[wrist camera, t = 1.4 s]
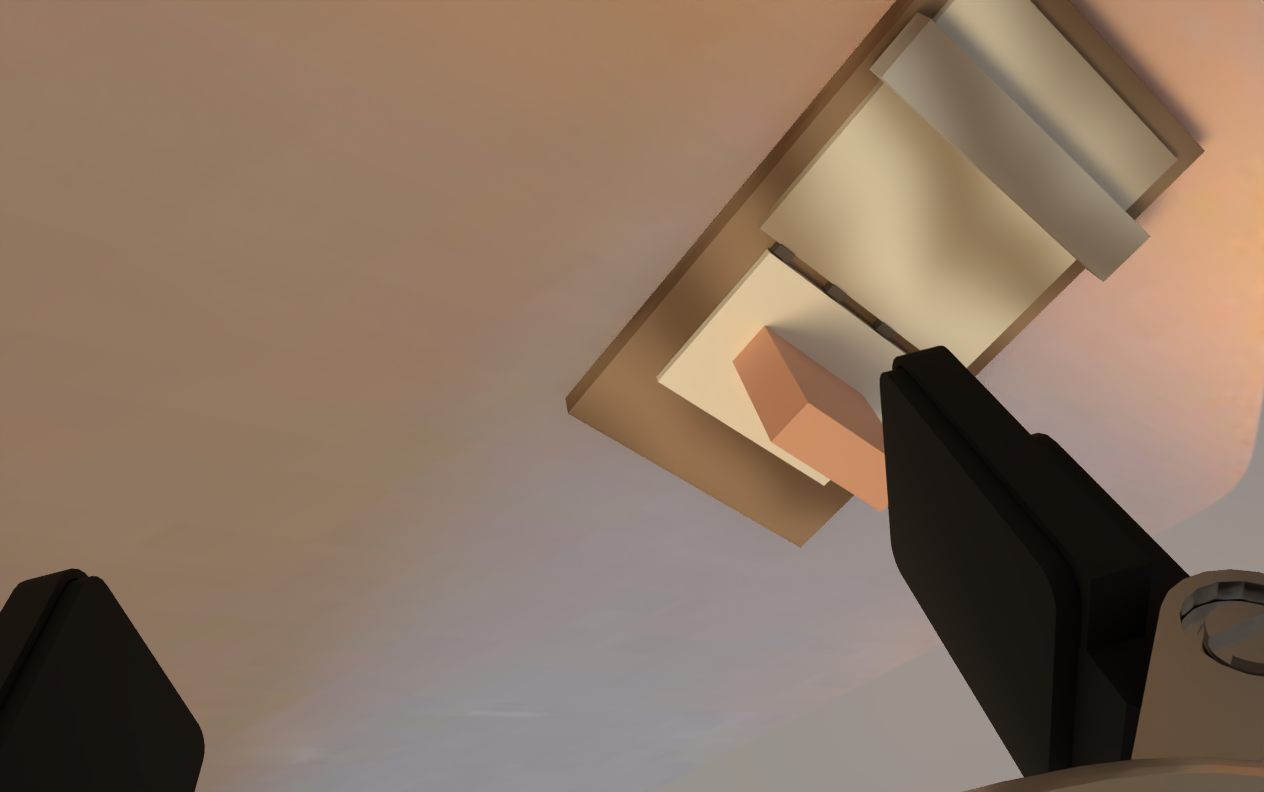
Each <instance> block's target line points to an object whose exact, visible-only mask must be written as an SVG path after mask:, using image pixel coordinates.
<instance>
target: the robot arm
mask: <svg viewBox="0 0 1264 792" xmlns="http://www.w3.org/2000/svg"><path fill="white" fill-rule="evenodd" d="M880 399H881V413H882V426H883V440H884V454H885V468H886V481H887V495H888V509H889V522H890V536H891V546H892V551H893V555H894V558H895V561H896V564H897V566H898V569H899V571H900V573H901V575H902V576H903V578H904V579H905V581H906V583H907V584H908V586H909V588H910V589H911V591H912V593H913V594H914V596H915V598H916V599H917V601H918V603H919V604H920V606H921V608H922V609H923V611H924V613H925V614H926V616H927V618H928V619H929V621H930V622H931V624H932V626H933V627H934V629H935V631H936V632H937V634H938V636H939V637H940V639H941V641H942V642H943V644H944V646H945V647H946V649H947V650H948V652H949V654H950V655H951V657H952V659H953V660H954V662H955V664H956V665H957V667H958V669H959V670H960V672H961V674H962V675H963V677H964V679H965V680H966V682H967V684H968V685H969V687H970V688H971V690H972V692H973V694H974V695H975V697H976V699H977V700H978V702H979V703H980V705H981V707H982V708H983V710H984V712H985V713H986V715H987V717H988V718H989V720H990V722H991V723H992V725H993V727H994V728H995V730H996V732H997V733H998V735H999V737H1000V738H1001V740H1002V741H1003V743H1004V745H1005V747H1006V748H1007V750H1008V751H1009V753H1010V755H1011V756H1012V758H1013V760H1014V761H1015V763H1016V765H1017V766H1018V768H1019V770H1020V771H1021V773H1022V775H1023V776H1024V778H1019V779H1014V780H1010V781H1004V782H1000V783H996V784H992V785H988V786H984V787H980V788H976V789H972V790H968V791H964V792H1264V574H1263V573H1260V572H1251V571H1242V570H1232V569H1230V570H1218V571H1207V572H1203V573H1200V574H1197V575H1194V576H1191V577H1190V576H1189V575H1188V574H1187V573H1186V572H1185V571H1184V570H1183V569H1182V568H1181V567H1180V566H1179V565H1178V564H1177V563H1176V562H1175V561H1174V560H1173V559H1172V558H1171V557H1170V556H1169V555H1168V554H1167V553H1166V552H1165V551H1164V550H1163V549H1162V548H1161V547H1160V546H1159V545H1158V544H1157V543H1156V542H1155V541H1154V540H1153V539H1152V538H1151V537H1150V536H1149V535H1148V534H1147V533H1146V532H1145V531H1144V530H1143V529H1142V528H1141V527H1140V526H1139V525H1138V524H1137V523H1136V522H1135V521H1134V520H1133V519H1132V518H1131V517H1130V516H1129V515H1128V514H1127V513H1126V512H1125V511H1124V510H1123V509H1122V508H1121V507H1120V506H1119V505H1118V504H1117V503H1116V502H1115V501H1114V500H1113V499H1112V498H1111V497H1110V496H1109V495H1108V494H1107V493H1106V492H1105V491H1104V490H1103V489H1102V488H1101V487H1100V485H1099V484H1098V483H1097V482H1096V481H1095V480H1094V479H1093V478H1092V477H1091V476H1090V475H1089V474H1088V473H1087V472H1086V471H1085V470H1084V469H1083V468H1082V467H1081V466H1080V465H1079V464H1078V463H1077V462H1076V461H1075V460H1074V459H1073V458H1072V457H1071V456H1070V455H1069V454H1068V453H1067V452H1066V451H1065V450H1064V449H1063V448H1062V447H1061V446H1060V445H1059V444H1058V443H1057V442H1056V441H1054V440H1053V439H1052V438H1050V437H1049V436H1048V435H1046V434H1041V433H1036V434H1032V435H1030V434H1029V433H1028V431H1027V430H1026V429H1025V428H1024V427H1023V426H1022V425H1021V424H1020V423H1019V422H1018V421H1017V420H1016V419H1015V418H1014V417H1013V416H1012V415H1011V414H1010V413H1009V412H1008V411H1007V410H1006V409H1005V408H1004V407H1003V406H1002V404H1001V403H1000V402H999V401H998V400H997V399H996V398H995V397H994V396H993V395H992V394H991V393H990V392H989V391H988V390H987V389H986V388H985V387H984V386H983V385H982V384H981V383H980V382H979V381H978V380H977V379H976V377H975V376H974V375H973V374H972V373H971V372H970V371H969V370H968V369H967V368H966V367H965V366H964V365H963V364H962V363H961V362H960V361H959V360H958V359H957V358H956V357H955V356H954V355H953V354H952V353H951V352H950V351H949V349H947V348H946V347H945V346H935V347H932V348H928V349H924V350H920V351H916V352H912V353H908V354H904V355H900V356H897V357H895V359H894V360H893V364H892V370H891V371H887V372H883V373H882V374H881V375H880ZM204 747H205V745H204V738H203V734H202V731H201V728H200V726H199V724H198V723H197V721H196V720H195V718H194V717H193V715H192V714H191V712H190V711H189V709H188V708H187V706H186V705H185V703H184V702H183V700H182V698H181V697H180V695H179V694H178V692H177V691H176V689H175V688H174V686H173V685H172V683H171V682H170V680H169V679H168V677H167V676H166V674H165V673H164V671H163V670H162V668H161V667H160V665H159V664H158V662H157V661H156V659H155V657H154V656H153V654H152V653H151V651H150V650H149V648H148V647H147V645H146V644H145V642H144V641H143V639H142V638H141V636H140V635H139V633H138V632H137V630H136V629H135V627H134V626H133V624H132V623H131V621H130V620H129V618H128V616H127V615H126V613H125V612H124V610H123V609H122V607H121V606H120V604H119V603H118V601H117V600H116V598H115V597H114V595H113V594H112V592H111V591H110V589H109V588H108V586H107V585H106V584H105V582H104V581H103V580H102V579H100V578H99V577H96V576H91V577H88V576H87V575H86V574H85V573H84V572H82V571H81V570H79V569H68V570H64V571H60V572H57V573H53V574H49V575H45V576H41V577H37V578H33V579H29V580H26V581H23V582H21V583H19V584H18V585H17V587H16V588H15V589H14V590H13V592H12V594H11V595H10V597H9V599H8V600H7V602H6V604H5V605H4V607H3V609H2V610H1V612H0V792H194V791H195V788H196V784H197V780H198V777H199V773H200V770H201V766H202V762H203V758H204Z"/></svg>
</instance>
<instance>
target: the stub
mask: <svg viewBox="0 0 1264 792" xmlns="http://www.w3.org/2000/svg"><path fill="white" fill-rule="evenodd" d="M904 354H907V353H906V352H904V351H903V350H902V349H900V348H899V347H898V346H896V345H895V344H894V343H892V342H891V341H890V340H888V339H887V338H886V337H884V336H883V335H882V334H880V333H879V332H878V331H876V330H875V329H874V328H872V327H871V326H870V325H868V324H867V323H866V322H864V321H863V320H862V319H860V318H859V317H858V316H856V315H855V314H854V313H852V312H851V311H850V310H848V309H847V308H846V307H844V306H843V305H842V304H840V303H839V302H838V301H836V300H835V299H834V298H832V297H831V296H830V295H828V294H827V293H826V292H824V291H823V290H822V289H820V288H819V287H818V286H816V285H815V284H814V283H812V282H811V281H810V280H808V279H807V278H806V277H804V276H803V275H802V274H800V273H799V272H798V271H796V270H795V269H794V268H792V267H791V266H790V265H788V264H787V263H786V262H784V261H783V260H782V259H780V258H779V257H778V256H776V255H775V254H774V253H772V252H771V251H770V250H768V249H767V250H766V251H765V252H764V253H763V254H762V255H761V257H760V258H759V259H758V260H757V261H756V262H755V263H754V265H753V266H752V267H751V268H750V269H749V270H748V272H747V273H746V274H745V275H744V276H743V277H742V278H741V280H740V281H739V282H738V283H737V284H736V285H735V287H734V288H733V289H732V290H731V291H730V292H729V293H728V295H727V296H726V297H725V298H724V299H723V300H722V302H721V303H720V304H719V305H718V306H717V307H716V308H715V310H714V311H713V312H712V313H711V314H710V315H709V317H708V318H707V319H706V320H705V321H704V322H703V323H702V325H701V326H700V327H699V328H698V329H697V330H696V332H695V333H694V334H693V335H692V336H691V337H690V338H689V340H688V341H687V342H686V343H685V344H684V345H683V347H682V348H681V349H680V350H679V351H678V352H677V353H676V355H675V356H674V357H673V358H672V359H671V360H670V362H669V363H668V364H667V365H666V366H665V367H664V368H663V370H662V371H661V372H660V373H659V374H658V375H657V380H658V382H659V383H661V384H662V385H664V386H666V387H667V388H669V389H670V390H672V391H674V392H675V393H677V394H678V395H680V396H682V397H683V398H685V399H686V400H688V401H690V402H691V403H693V404H694V405H696V406H698V407H699V408H701V409H702V410H704V411H706V412H707V413H709V414H710V415H712V416H714V417H715V418H717V419H718V420H720V421H721V422H723V423H725V424H726V425H728V426H729V427H731V428H733V429H734V430H736V431H737V432H739V433H741V434H742V435H744V436H745V437H747V438H749V439H750V440H752V441H753V442H755V443H757V444H758V445H760V446H761V447H763V448H765V449H766V450H768V451H769V452H771V453H773V454H774V455H776V456H777V457H779V458H781V459H782V460H784V461H785V462H787V463H789V464H790V465H792V466H793V467H795V468H796V469H798V470H800V471H801V472H803V473H804V474H806V475H808V476H809V477H811V478H812V479H814V480H816V481H817V482H819V483H820V484H822V485H824V486H825V485H826V484H827V483H828V482H829V481H830V480H832V481H833V482H835V483H836V484H838V485H840V486H841V487H843V488H844V489H846V490H847V491H849V492H851V493H852V494H854V495H855V496H857V497H859V498H860V499H862V500H863V501H865V502H866V503H868V504H870V505H871V506H873V507H874V508H876V509H877V510H879V511H882V510H884V509H885V508H886V507H887V506H888V495H887V481H886V468H885V454H884V440H883V426H882V413H881V399H880V375H881V374H882V373H883V372H887V371H891V370H892V364H893V360H894V359H895V357H897V356H900V355H904Z"/></svg>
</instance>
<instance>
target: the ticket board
mask: <svg viewBox="0 0 1264 792" xmlns="http://www.w3.org/2000/svg"><path fill="white" fill-rule="evenodd" d="M1203 152H1204V150H1203V148H1202V147H1201V146H1200V145H1199V144H1198V143H1197V142H1196V141H1195V140H1194V138H1193V137H1192V136H1191V135H1190V134H1189V133H1188V132H1187V131H1186V130H1185V128H1184V127H1183V126H1182V125H1181V124H1180V123H1179V122H1178V121H1177V120H1176V118H1175V117H1174V116H1173V115H1172V114H1171V113H1170V112H1169V111H1168V110H1167V108H1166V107H1165V106H1164V105H1163V104H1162V103H1161V102H1160V101H1159V100H1158V98H1157V97H1156V96H1155V95H1154V94H1153V93H1152V92H1151V91H1150V90H1149V88H1148V87H1147V86H1146V85H1145V84H1144V83H1143V82H1142V81H1141V80H1140V78H1139V77H1138V76H1137V75H1136V74H1135V73H1134V72H1133V71H1132V70H1131V68H1130V67H1129V66H1128V65H1127V64H1126V63H1125V62H1124V61H1123V60H1122V58H1121V57H1120V56H1119V55H1118V54H1117V53H1116V52H1115V51H1114V50H1113V48H1112V47H1111V46H1110V45H1109V44H1108V43H1107V42H1106V41H1105V40H1104V38H1103V37H1102V36H1101V35H1100V34H1099V33H1098V32H1097V31H1096V30H1095V29H1094V27H1093V26H1092V25H1091V24H1090V23H1089V22H1088V21H1087V20H1086V19H1085V17H1084V16H1083V15H1082V14H1081V13H1080V12H1079V11H1078V10H1077V9H1076V7H1075V6H1074V5H1073V4H1072V3H1071V2H1070V1H1069V0H897V1H896V2H895V3H894V4H893V5H892V7H891V8H890V9H889V10H888V11H887V13H886V14H885V15H884V16H883V17H882V19H881V20H880V21H879V22H878V23H877V25H876V26H875V27H874V28H873V29H872V31H871V32H870V33H869V34H868V35H867V37H866V38H865V39H864V40H863V41H862V43H861V44H860V45H859V46H858V48H857V49H856V50H855V51H854V52H853V54H852V55H851V56H850V57H849V58H848V60H847V61H846V62H845V63H844V64H843V66H842V67H841V68H840V69H839V70H838V72H837V73H836V74H835V75H834V76H833V78H832V79H831V80H830V81H829V82H828V84H827V85H826V86H825V87H824V88H823V90H822V91H821V92H820V93H819V94H818V96H817V97H816V98H815V99H814V100H813V102H812V103H811V104H810V105H809V106H808V108H807V109H806V110H805V111H804V112H803V114H802V115H801V116H800V117H799V118H798V120H797V121H796V122H795V123H794V124H793V126H792V127H791V128H790V129H789V130H788V132H787V133H786V134H785V135H784V136H783V138H782V139H781V140H780V141H779V143H778V144H777V145H776V146H775V147H774V149H773V150H772V151H771V152H770V153H769V155H768V156H767V157H766V158H765V159H764V161H763V162H762V163H761V164H760V165H759V167H758V168H757V169H756V170H755V171H754V173H753V174H752V175H751V176H750V177H749V179H748V180H747V181H746V182H745V183H744V185H743V186H742V187H741V188H740V189H739V191H738V192H737V193H736V194H735V195H734V197H733V198H732V199H731V200H730V201H729V203H728V204H727V205H726V206H725V207H724V209H723V210H722V211H721V212H720V213H719V215H718V216H717V217H716V218H715V219H714V221H713V222H712V223H711V224H710V225H709V227H708V228H707V229H706V230H705V231H704V233H703V234H702V235H701V236H700V238H699V239H698V240H697V241H696V242H695V244H694V245H693V246H692V247H691V248H690V250H689V251H688V252H687V253H686V254H685V256H684V257H683V258H682V259H681V260H680V262H679V263H678V264H677V265H676V266H675V268H674V269H673V270H672V271H671V272H670V274H669V275H668V276H667V277H666V278H665V280H664V281H663V282H662V283H661V284H660V286H659V287H658V288H657V289H656V290H655V292H654V293H653V294H652V295H651V296H650V298H649V299H648V300H647V301H646V302H645V304H644V305H643V306H642V307H641V308H640V310H639V311H638V312H637V313H636V314H635V316H634V317H633V318H632V319H631V320H630V322H629V323H628V324H627V325H626V326H625V328H624V329H623V330H622V331H621V332H620V334H619V335H618V336H617V337H616V339H615V340H614V341H613V342H612V343H611V345H610V346H609V347H608V348H607V349H606V351H605V352H604V353H603V354H602V355H601V357H600V358H599V359H598V360H597V361H596V363H595V364H594V365H593V366H592V367H591V369H590V370H589V371H588V372H587V373H586V375H585V376H584V377H583V378H582V379H581V381H580V382H579V383H578V384H577V385H576V387H575V388H574V389H573V390H572V391H571V393H570V394H569V395H568V396H567V397H566V404H567V410H568V413H569V414H570V415H572V416H574V417H575V418H577V419H579V420H581V421H582V422H584V423H586V424H588V425H589V426H591V427H593V428H594V429H596V430H598V431H600V432H601V433H603V434H605V435H607V436H608V437H610V438H612V439H613V440H615V441H617V442H619V443H620V444H622V445H624V446H626V447H627V448H629V449H631V450H632V451H634V452H636V453H638V454H639V455H641V456H643V457H645V458H646V459H648V460H650V461H652V462H653V463H655V464H657V465H658V466H660V467H662V468H664V469H665V470H667V471H669V472H671V473H672V474H674V475H676V476H677V477H679V478H681V479H683V480H684V481H686V482H688V483H690V484H691V485H693V486H695V487H696V488H698V489H700V490H702V491H703V492H705V493H707V494H709V495H710V496H712V497H714V498H715V499H717V500H719V501H721V502H722V503H724V504H726V505H728V506H729V507H731V508H733V509H734V510H736V511H738V512H740V513H741V514H743V515H745V516H747V517H748V518H750V519H752V520H754V521H755V522H757V523H759V524H760V525H762V526H764V527H766V528H767V529H769V530H771V531H773V532H774V533H776V534H778V535H779V536H781V537H783V538H785V539H786V540H788V541H790V542H792V543H793V544H795V545H797V546H798V547H802V546H803V545H804V544H805V543H806V542H807V541H808V540H809V539H810V538H811V537H812V536H813V535H814V534H815V533H816V532H817V531H818V530H819V529H820V528H821V527H822V526H823V525H824V524H825V523H826V522H827V521H828V520H829V519H830V518H831V517H832V516H833V515H834V514H835V513H836V512H837V511H838V510H839V509H840V508H841V507H842V506H843V505H844V504H845V503H846V502H847V501H848V500H849V499H850V498H851V497H853V496H854V494H852V493H851V492H849V491H847V490H846V489H844V488H843V487H841V486H840V485H838V484H836V483H835V482H833V481H832V480H830V481H829V482H828V483H827V484H826V485H825V486H824V485H822V484H820V483H819V482H817V481H816V480H814V479H812V478H811V477H809V476H808V475H806V474H804V473H803V472H801V471H800V470H798V469H796V468H795V467H793V466H792V465H790V464H789V463H787V462H785V461H784V460H782V459H781V458H779V457H777V456H776V455H774V454H773V453H771V452H769V451H768V450H766V449H765V448H763V447H761V446H760V445H758V444H757V443H755V442H753V441H752V440H750V439H749V438H747V437H745V436H744V435H742V434H741V433H739V432H737V431H736V430H734V429H733V428H731V427H729V426H728V425H726V424H725V423H723V422H721V421H720V420H718V419H717V418H715V417H714V416H712V415H710V414H709V413H707V412H706V411H704V410H702V409H701V408H699V407H698V406H696V405H694V404H693V403H691V402H690V401H688V400H686V399H685V398H683V397H682V396H680V395H678V394H677V393H675V392H674V391H672V390H670V389H669V388H667V387H666V386H664V385H662V384H661V383H659V382H658V380H657V375H658V374H659V373H660V372H661V371H662V370H663V368H664V367H665V366H666V365H667V364H668V363H669V362H670V360H671V359H672V358H673V357H674V356H675V355H676V353H677V352H678V351H679V350H680V349H681V348H682V347H683V345H684V344H685V343H686V342H687V341H688V340H689V338H690V337H691V336H692V335H693V334H694V333H695V332H696V330H697V329H698V328H699V327H700V326H701V325H702V323H703V322H704V321H705V320H706V319H707V318H708V317H709V315H710V314H711V313H712V312H713V311H714V310H715V308H716V307H717V306H718V305H719V304H720V303H721V302H722V300H723V299H724V298H725V297H726V296H727V295H728V293H729V292H730V291H731V290H732V289H733V288H734V287H735V285H736V284H737V283H738V282H739V281H740V280H741V278H742V277H743V276H744V275H745V274H746V273H747V272H748V270H749V269H750V268H751V267H752V266H753V265H754V263H755V262H756V261H757V260H758V259H759V258H760V257H761V255H762V254H763V253H764V252H765V251H766V250H767V249H768V250H770V251H771V252H772V253H774V254H775V255H776V256H778V257H779V258H780V259H782V260H783V261H784V262H786V263H787V264H788V265H790V266H791V267H792V268H794V269H795V270H796V271H798V272H799V273H800V274H802V275H803V276H804V277H806V278H807V279H808V280H810V281H811V282H812V283H814V284H815V285H816V286H818V287H819V288H820V289H822V290H823V291H824V292H826V293H827V294H828V295H830V296H831V297H832V298H834V299H835V300H836V301H838V302H839V303H840V304H842V305H843V306H844V307H846V308H847V309H848V310H850V311H851V312H852V313H854V314H855V315H856V316H858V317H859V318H860V319H862V320H863V321H864V322H866V323H867V324H868V325H870V326H871V327H872V328H874V329H875V330H876V331H878V332H879V333H880V334H882V335H883V336H884V337H886V338H887V339H888V340H890V341H891V342H892V343H894V344H895V345H896V346H898V347H899V348H900V349H902V350H903V351H904V352H906V353H907V354H908V353H912V352H916V351H920V350H924V349H928V348H932V347H935V346H945V347H946V348H947V349H949V351H950V352H951V353H952V354H953V355H954V356H955V357H956V358H957V359H958V360H959V361H960V362H961V363H962V364H963V365H964V366H965V367H966V368H967V369H968V370H969V371H970V372H971V373H972V374H973V375H974V376H976V375H977V374H978V373H979V372H980V371H981V370H982V369H983V368H984V367H985V366H986V365H987V364H988V363H989V362H990V361H991V360H992V359H993V358H994V357H995V356H996V355H997V354H998V353H999V352H1000V351H1001V350H1002V349H1003V348H1004V347H1005V346H1007V345H1008V344H1009V343H1010V342H1011V341H1012V340H1013V339H1014V338H1015V337H1016V336H1017V335H1018V334H1019V333H1020V332H1021V331H1022V330H1023V329H1024V328H1025V327H1026V326H1027V325H1028V324H1029V323H1030V322H1031V321H1032V320H1033V319H1034V318H1035V317H1036V316H1037V315H1038V314H1039V313H1040V312H1041V311H1042V310H1043V309H1044V308H1045V307H1046V306H1047V305H1048V304H1049V303H1050V302H1051V301H1052V300H1053V299H1054V298H1055V297H1056V296H1058V295H1059V294H1060V293H1061V292H1062V291H1063V290H1064V289H1065V288H1066V287H1067V286H1068V285H1069V284H1070V283H1071V282H1072V281H1073V280H1074V279H1075V278H1076V277H1077V276H1078V275H1079V274H1080V273H1081V272H1082V271H1083V270H1084V269H1085V268H1086V269H1087V270H1088V271H1090V272H1091V273H1092V274H1094V275H1095V276H1096V277H1098V278H1099V279H1100V280H1102V281H1103V282H1104V281H1105V280H1106V279H1107V278H1108V277H1109V276H1110V275H1111V274H1112V273H1113V272H1114V271H1115V270H1116V269H1117V268H1118V267H1119V266H1120V265H1122V264H1123V263H1124V262H1125V261H1126V260H1127V259H1128V258H1129V257H1130V256H1131V255H1132V254H1133V253H1134V252H1135V251H1136V250H1137V249H1138V248H1139V247H1140V246H1141V245H1142V244H1143V243H1144V242H1145V241H1146V240H1147V239H1148V238H1149V237H1151V236H1150V235H1149V234H1148V233H1147V232H1146V231H1145V230H1144V229H1143V228H1142V227H1141V226H1140V225H1139V224H1138V223H1137V222H1136V221H1135V219H1136V218H1137V217H1138V216H1139V215H1140V214H1141V213H1142V212H1143V211H1144V210H1145V209H1146V208H1147V207H1148V206H1149V205H1150V204H1151V203H1152V202H1153V201H1154V200H1155V199H1156V198H1157V197H1158V196H1159V195H1161V194H1162V193H1163V192H1164V191H1165V190H1166V189H1167V188H1168V187H1169V186H1170V185H1171V184H1172V183H1173V182H1174V181H1175V180H1176V179H1177V178H1178V177H1179V176H1180V175H1181V174H1182V173H1183V172H1184V171H1185V170H1186V169H1187V168H1188V167H1189V166H1190V165H1191V164H1192V163H1193V162H1194V161H1195V160H1196V159H1197V158H1198V157H1199V156H1200V155H1201V154H1202V153H1203Z"/></svg>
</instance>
